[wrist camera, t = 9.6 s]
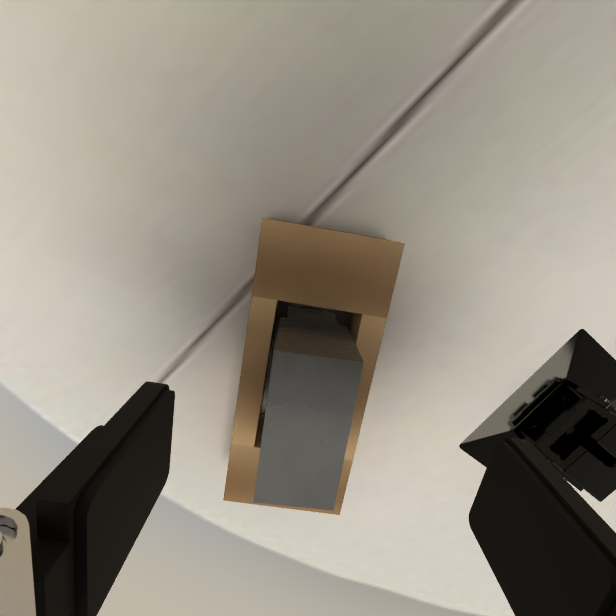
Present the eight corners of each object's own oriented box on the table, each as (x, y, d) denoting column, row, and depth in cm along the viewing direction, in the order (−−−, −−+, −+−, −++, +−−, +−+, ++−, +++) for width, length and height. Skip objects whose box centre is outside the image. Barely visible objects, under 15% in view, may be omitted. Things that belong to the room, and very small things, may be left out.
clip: (283, 301, 18) (273, 350, 11) (339, 309, 18) (363, 362, 11) (269, 403, 19) (252, 502, 13) (321, 410, 20) (333, 510, 13)
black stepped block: (586, 295, 19) (675, 318, 14) (665, 371, 20) (769, 414, 16) (430, 449, 21) (465, 510, 17) (510, 509, 22) (562, 581, 18)
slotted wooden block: (268, 218, 17) (262, 218, 14) (387, 239, 17) (404, 243, 14) (234, 460, 20) (223, 500, 17) (333, 473, 21) (339, 514, 18)
